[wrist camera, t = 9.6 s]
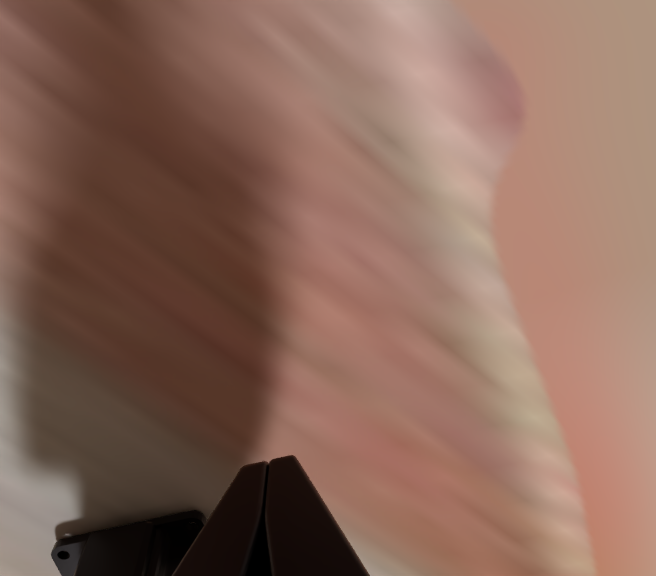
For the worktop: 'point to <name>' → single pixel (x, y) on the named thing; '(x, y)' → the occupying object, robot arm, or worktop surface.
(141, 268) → the worktop surface
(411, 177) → the worktop surface
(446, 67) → the worktop surface
